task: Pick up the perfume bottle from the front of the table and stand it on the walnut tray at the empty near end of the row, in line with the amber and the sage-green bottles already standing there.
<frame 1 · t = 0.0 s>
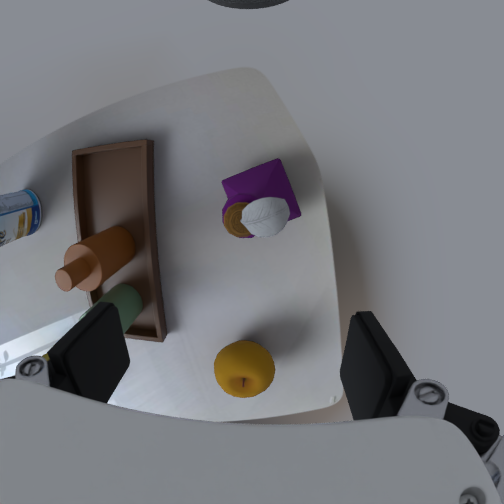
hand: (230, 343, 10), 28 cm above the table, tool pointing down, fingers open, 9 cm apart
apple: (246, 349, 44), on the table
amber bottle: (118, 245, 39), resting on tray
green bottle: (126, 300, 42), resting on tray
beverage bottle: (29, 211, 39), on the table
tray: (119, 244, 39), on the table
perfume bottle: (261, 195, 37), on the table
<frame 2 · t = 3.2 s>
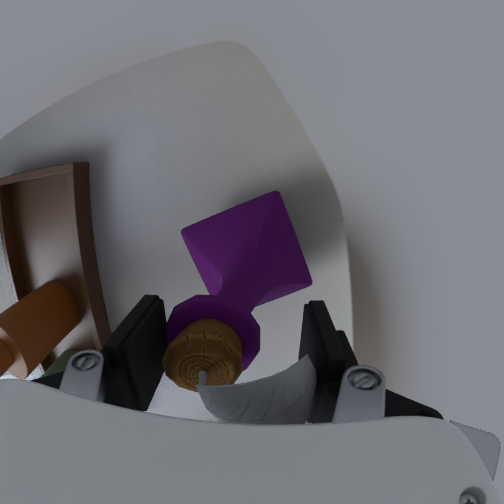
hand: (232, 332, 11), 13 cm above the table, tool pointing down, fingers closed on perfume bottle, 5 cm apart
amber bottle: (59, 305, 26), resting on tray
green bottle: (80, 368, 28), resting on tray
tray: (62, 303, 26), on the table
perfume bottle: (248, 245, 24), on the table, touching gripper
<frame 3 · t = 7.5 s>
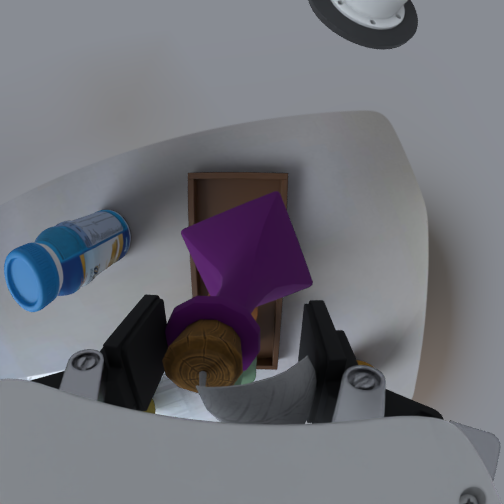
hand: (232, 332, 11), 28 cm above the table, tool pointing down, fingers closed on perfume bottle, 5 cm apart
green bottle: (238, 332, 43), resting on tray
beverage bottle: (110, 234, 40), on the table
tray: (238, 277, 41), on the table
perfume bottle: (248, 246, 24), point 15 cm above the table, touching gripper
flower pot: (137, 393, 50), on the table
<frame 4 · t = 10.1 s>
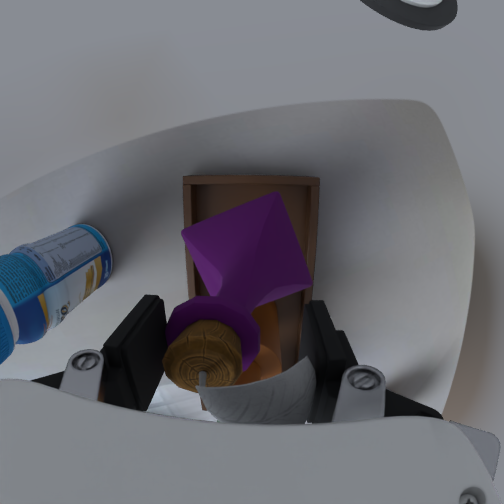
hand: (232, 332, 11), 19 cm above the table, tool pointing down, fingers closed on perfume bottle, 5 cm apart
amber bottle: (250, 312, 31), resting on tray
beverage bottle: (88, 255, 31), on the table
tray: (250, 310, 32), on the table
perfume bottle: (248, 246, 24), point 6 cm above the table, touching gripper
when the fingers open (13 cm above the table, at t = 12.1 s): perfume bottle stays where it is, resting on tray.
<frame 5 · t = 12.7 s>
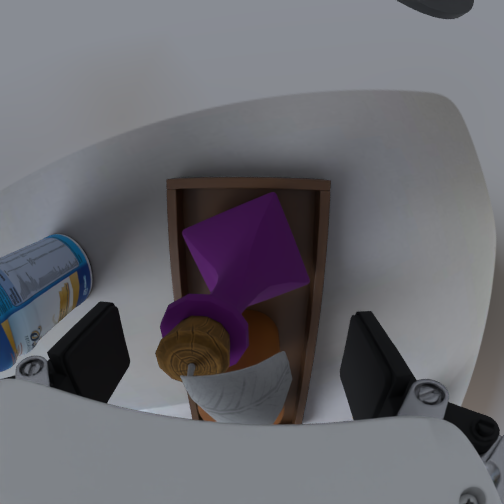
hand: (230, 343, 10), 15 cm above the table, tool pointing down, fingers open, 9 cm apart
amber bottle: (247, 336, 27), resting on tray
beverage bottle: (67, 268, 26), on the table
tray: (247, 333, 27), on the table
perfume bottle: (248, 245, 24), resting on tray
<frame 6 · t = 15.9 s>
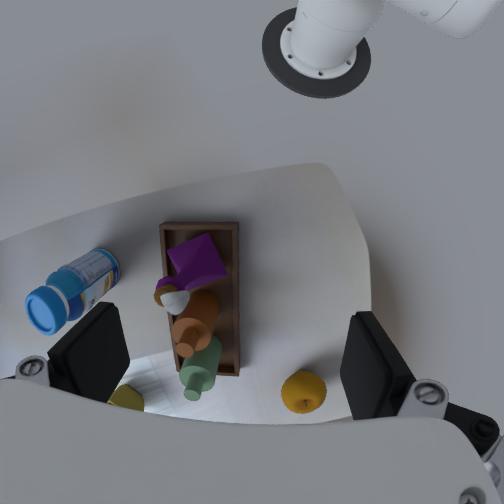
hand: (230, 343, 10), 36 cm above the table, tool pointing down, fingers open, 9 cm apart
apple: (301, 376, 55), on the table
amber bottle: (203, 304, 50), resting on tray
green bottle: (206, 345, 53), resting on tray
beverage bottle: (103, 267, 50), on the table
tray: (204, 303, 50), on the table
perfume bottle: (201, 256, 48), resting on tray
flower pot: (130, 393, 59), on the table
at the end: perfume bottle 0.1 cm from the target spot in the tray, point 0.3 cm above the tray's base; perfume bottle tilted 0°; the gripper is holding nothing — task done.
